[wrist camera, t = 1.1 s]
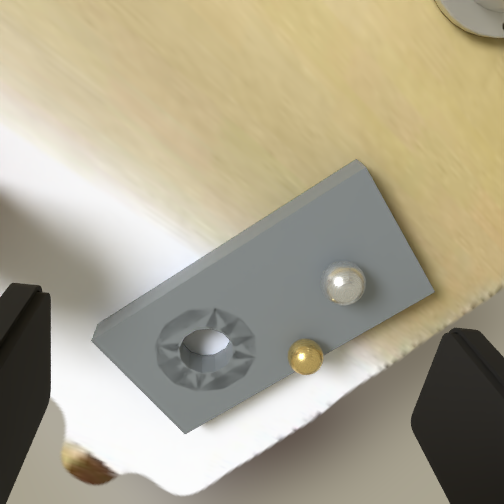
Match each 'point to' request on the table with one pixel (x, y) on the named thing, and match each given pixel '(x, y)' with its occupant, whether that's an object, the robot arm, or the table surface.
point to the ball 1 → (305, 356)
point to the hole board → (265, 300)
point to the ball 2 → (343, 283)
